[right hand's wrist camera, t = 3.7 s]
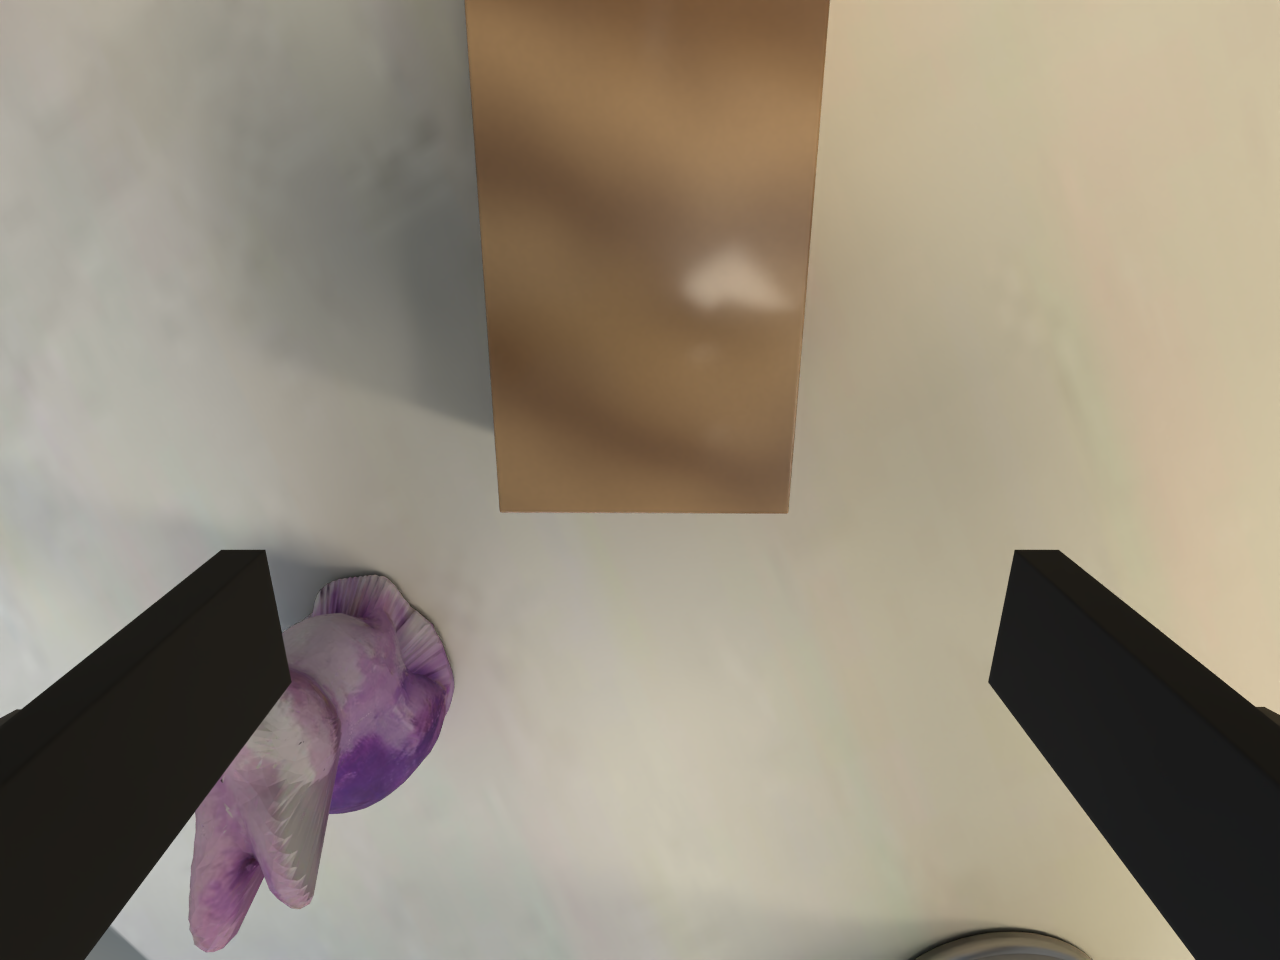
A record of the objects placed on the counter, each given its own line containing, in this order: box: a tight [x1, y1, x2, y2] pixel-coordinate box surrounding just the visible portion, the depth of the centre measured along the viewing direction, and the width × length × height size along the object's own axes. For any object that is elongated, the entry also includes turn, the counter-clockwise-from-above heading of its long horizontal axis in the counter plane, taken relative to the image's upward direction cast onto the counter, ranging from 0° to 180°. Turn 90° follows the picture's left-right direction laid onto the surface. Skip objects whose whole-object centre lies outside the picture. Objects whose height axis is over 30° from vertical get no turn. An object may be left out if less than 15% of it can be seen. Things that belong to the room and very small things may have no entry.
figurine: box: [188, 574, 454, 952], centre depth 30 cm, size 9×10×15 cm
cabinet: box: [464, 0, 830, 513], centre depth 26 cm, size 21×10×8 cm, turn 0°
